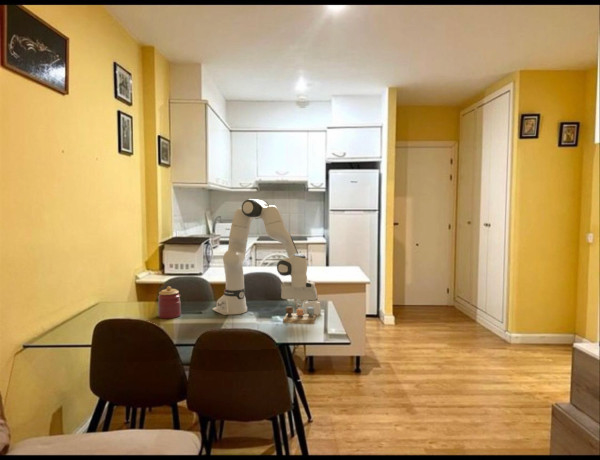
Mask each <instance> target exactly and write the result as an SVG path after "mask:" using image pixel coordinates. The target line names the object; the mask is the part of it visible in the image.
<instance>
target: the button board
mask: <svg viewBox="0 0 600 460" xmlns="http://www.w3.org/2000/svg"><path fill="white" fill-rule="evenodd" d="M316 319H317V315H316V314H312V317H309V314H304V315H302V317H298V315H296V313H295V312H293V313H291V316H290V317H289V316H288V313H286V314H285V315H284V316H283V319H282V322H283V323H286V324H287V323H289V324H315V321H316Z"/></svg>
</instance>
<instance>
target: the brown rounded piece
mask: <svg viewBox="0 0 600 460" xmlns="http://www.w3.org/2000/svg"><path fill="white" fill-rule="evenodd" d="M285 313H286V314H287V313H288V316H289V317H290V316H291V313H294V306H290V305H289V306H286V307H285Z"/></svg>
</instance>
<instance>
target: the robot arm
mask: <svg viewBox="0 0 600 460" xmlns="http://www.w3.org/2000/svg"><path fill="white" fill-rule="evenodd" d="M253 219H262V221H263V225H264V228H265V231H266V234H267V235H268V237H269V238H270V239H272V240H275V241H277V242H279V243H280V244H282V246H283V247H284V249H285V251H286V253H287V256H288V257H286V258H283V259H280V260H278V262H277V264H276V270H277V272H278V274H279V275H281V276H283V277H287V276H290V278H291V281H290V282H282V283H281V284H280V289H281V292H280V293H281V294H280V295H281V296H280V297H281V299H284V300H293V302H294V304H295V305H296V308H302V307H303V304H304V301H307V300H316V299H317V300H318V292H317V291H318V290H317V287H316V286H315V285H316V283H315V281H312V280H310V279H308V275H307V272H308V259H307V257H306V255H304V254H302V253H299V252H298V249H297V247H296V245H295V242H294V240H293V237H292V235H291V233H289V231H288V230H287V227H286V226H285V223H284V219H283V217H282V214H281V212H280V210H279V208H278V207H277V206H276V205H270V203H268V202H267V201H265V200H262V199H258V198H257V199H254V198H249V199H245V200H244V201H243V202H242V204H241V207H239V208H237V209H236V210H235V212H234V214H233V218H232V220H231V221H232V222H231V226H230V231H229V235H228V236H229V237H228V247H227V250H226V251H225V252H224V254H223V256H222V261H223V269H224V274H225V288H224V289H223V292H224V293H223V295H222V296H221V297H219V298H218V299H217V301H216V306H215V307H213V308H212V311H214V312H216V313H218V314H221V315H223V316H224V315H225V316H228V315H241V314H244V313H246V312H248V306H247V299H246V295H245V294H246V289H245V288H246V287H245V274H244V270H243V267H244V266H243V262H244V261H245V258H246V252H247V244H248V237H249V234H250V228H251V223H252V220H253ZM298 300H299V301H300V303H298Z"/></svg>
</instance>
